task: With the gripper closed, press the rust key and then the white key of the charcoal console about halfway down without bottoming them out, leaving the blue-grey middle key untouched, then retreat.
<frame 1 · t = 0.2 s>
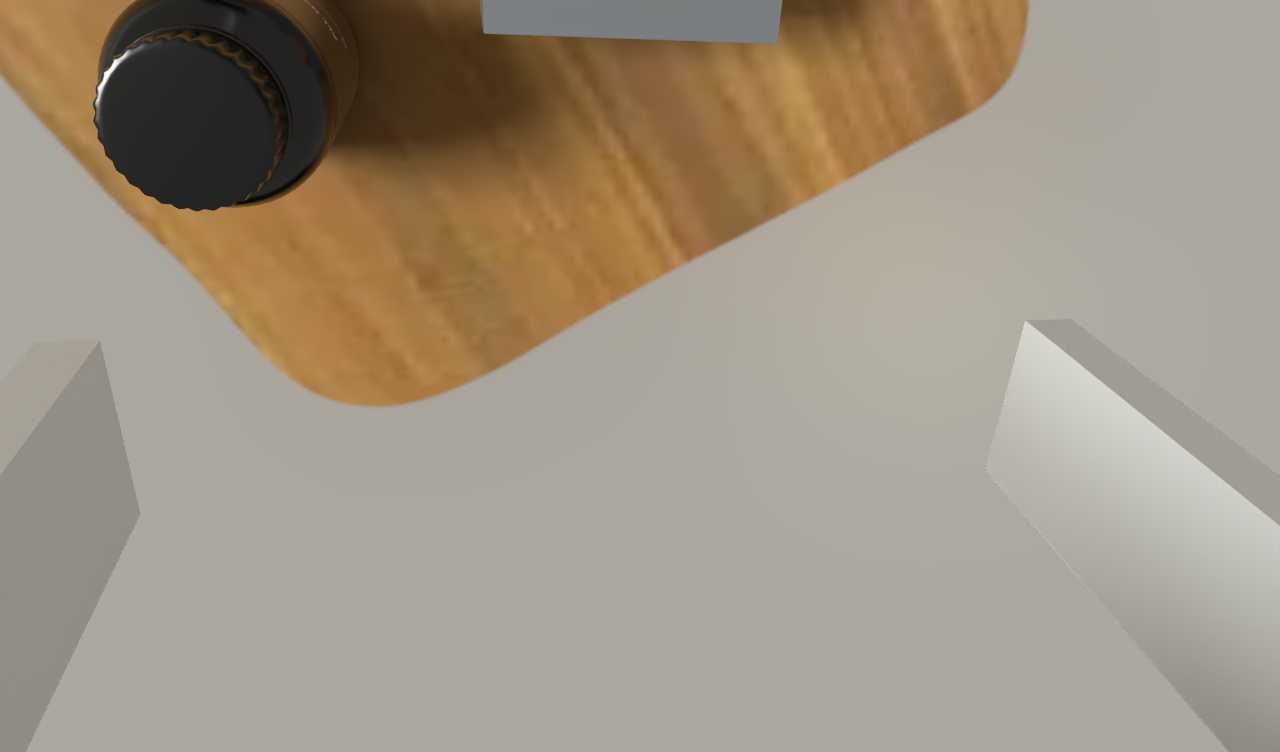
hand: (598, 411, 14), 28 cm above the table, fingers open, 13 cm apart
supplement bottle: (268, 54, 36), on the table
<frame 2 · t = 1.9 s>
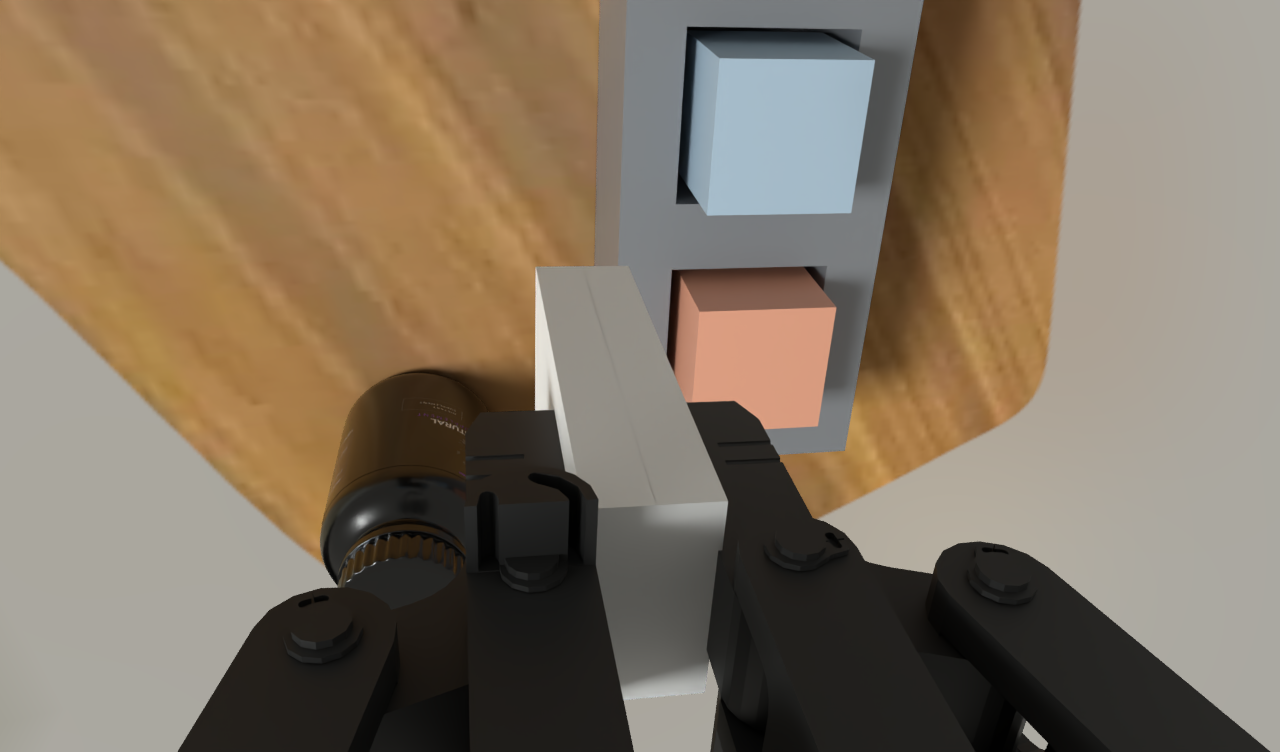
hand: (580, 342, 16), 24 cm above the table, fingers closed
blue key: (767, 120, 33), point 7 cm above the table, slide at 0.0 cm
console: (721, 78, 38), on the table
supplement bottle: (419, 428, 44), on the table
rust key: (743, 340, 37), point 7 cm above the table, slide at 0.0 cm
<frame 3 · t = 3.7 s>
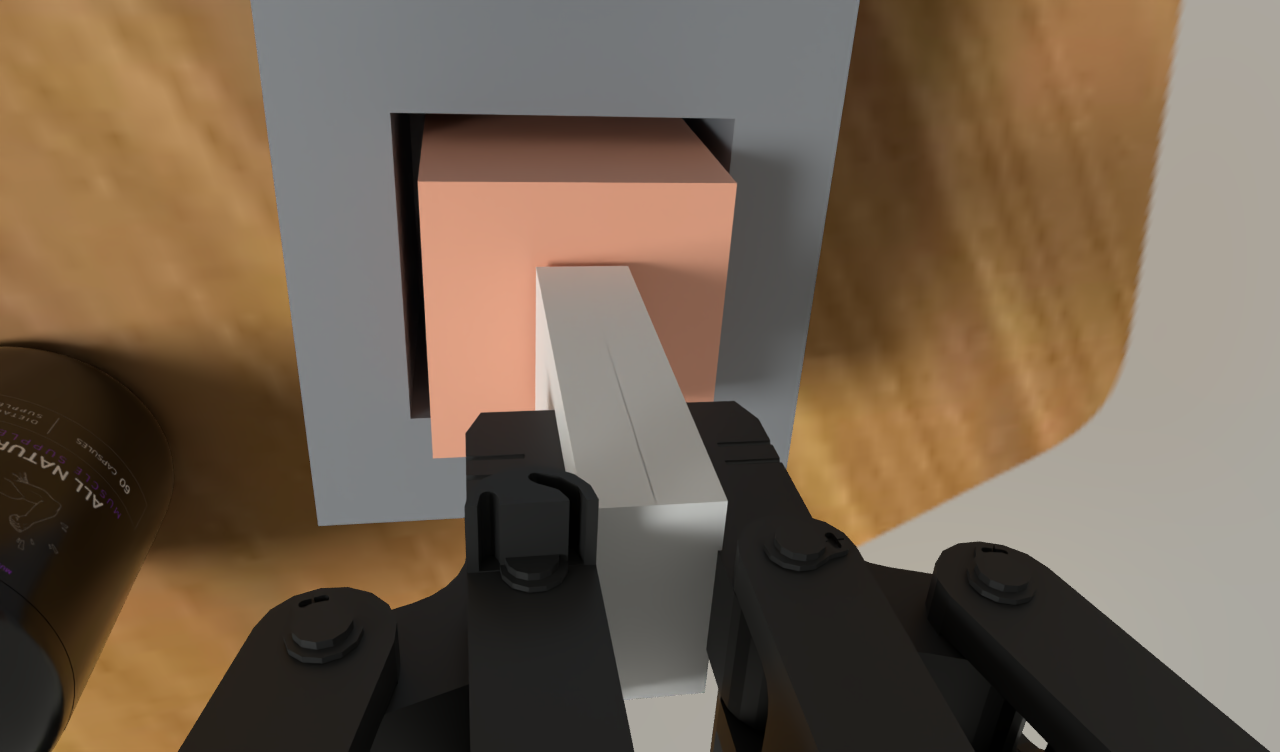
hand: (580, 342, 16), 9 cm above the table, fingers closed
supplement bottle: (40, 447, 25), on the table
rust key: (563, 270, 18), point 6 cm above the table, slide at 0.4 cm, touching gripper
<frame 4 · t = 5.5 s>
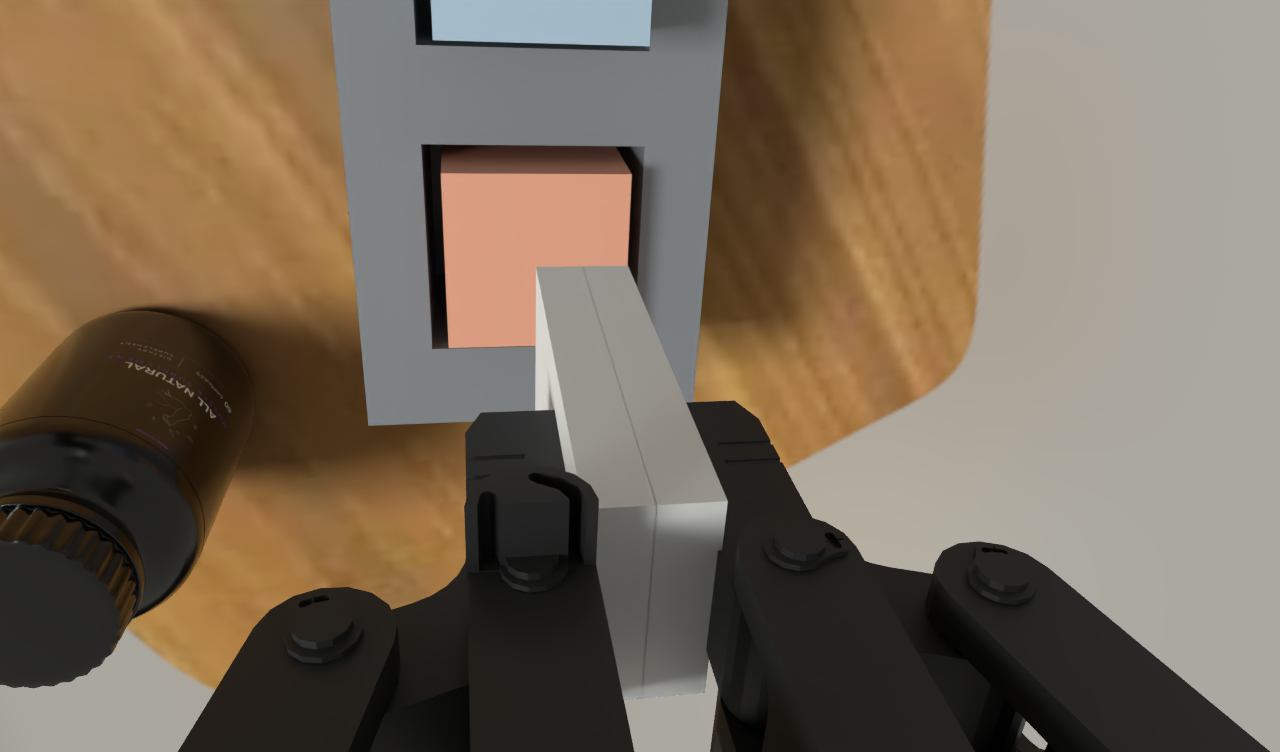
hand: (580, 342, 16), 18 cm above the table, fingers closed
supplement bottle: (157, 388, 34), on the table
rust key: (531, 233, 28), point 5 cm above the table, slide at 1.6 cm
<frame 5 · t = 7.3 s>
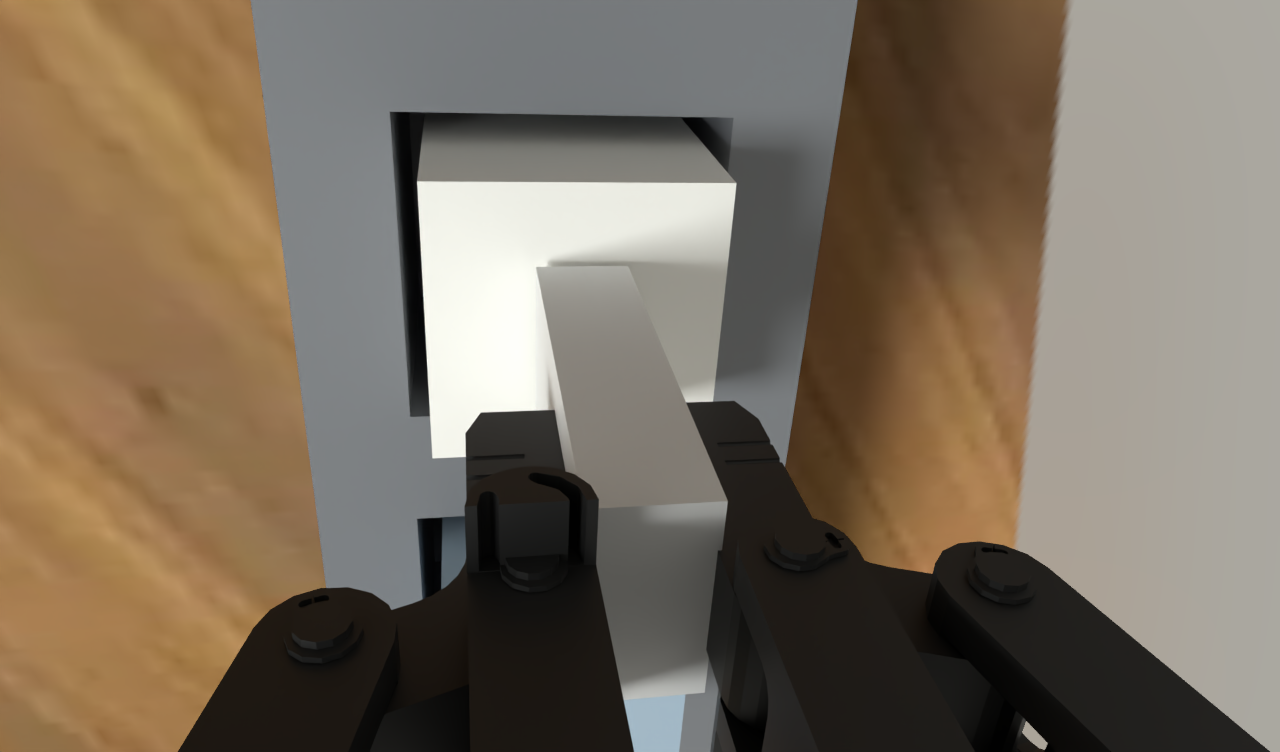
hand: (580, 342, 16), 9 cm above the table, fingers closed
white key: (562, 270, 18), point 6 cm above the table, slide at 0.3 cm, touching gripper
blue key: (557, 618, 22), point 7 cm above the table, slide at 0.0 cm
console: (536, 460, 28), on the table
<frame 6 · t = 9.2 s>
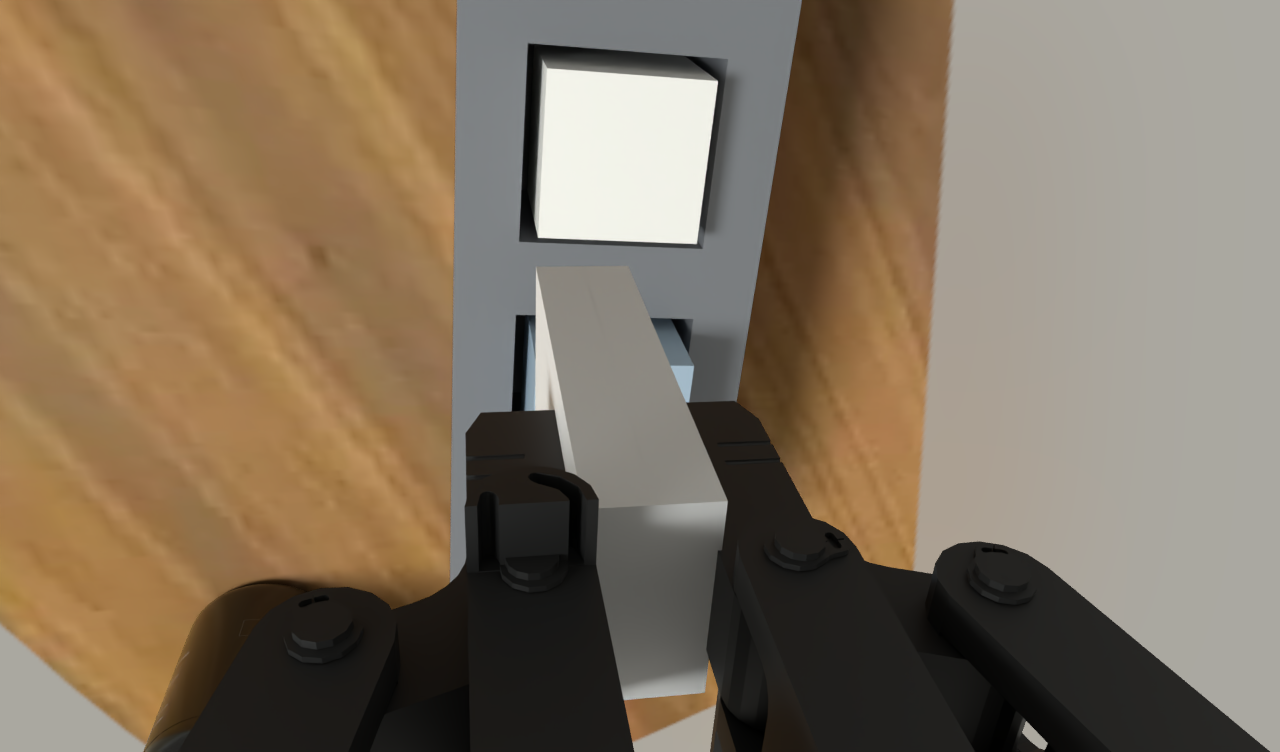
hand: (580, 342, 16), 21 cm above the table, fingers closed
white key: (613, 141, 31), point 5 cm above the table, slide at 1.6 cm
blue key: (599, 397, 33), point 7 cm above the table, slide at 0.0 cm
console: (578, 320, 39), on the table
supplement bottle: (270, 633, 43), on the table
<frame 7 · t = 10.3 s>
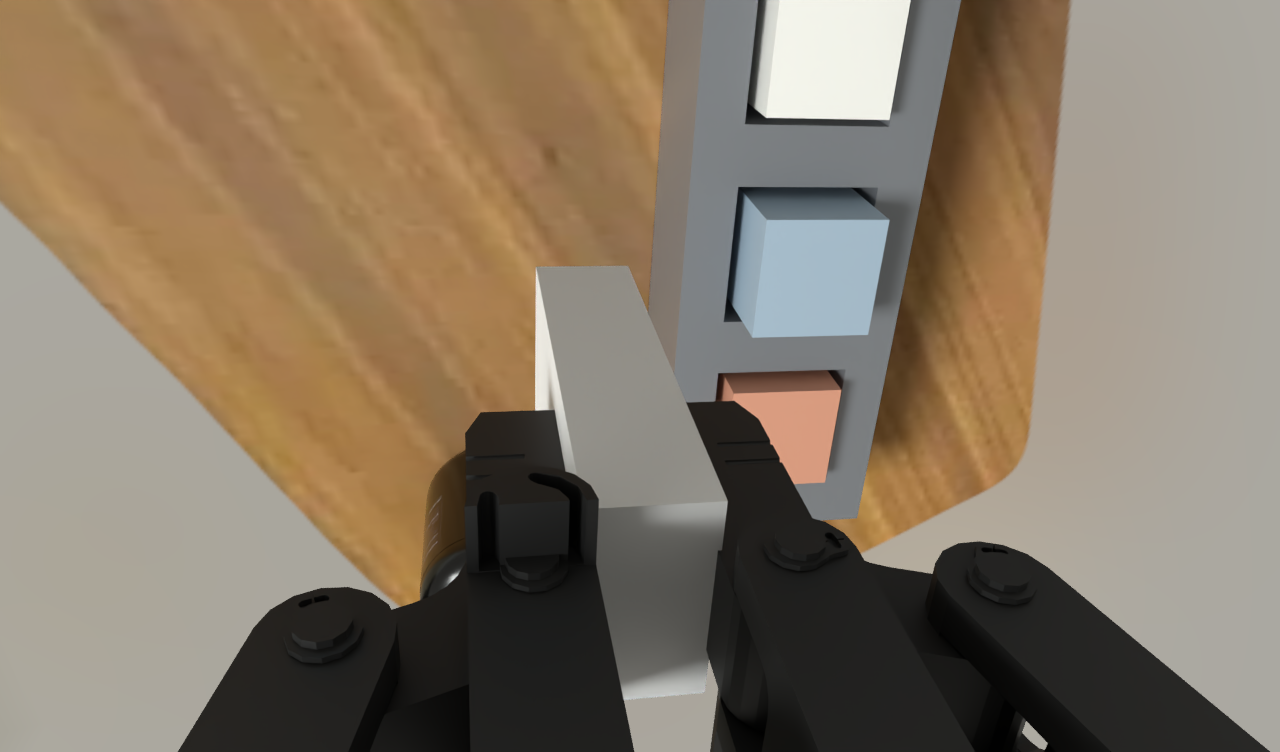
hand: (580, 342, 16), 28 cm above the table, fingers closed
white key: (816, 40, 37), point 5 cm above the table, slide at 1.6 cm
blue key: (800, 257, 40), point 7 cm above the table, slide at 0.0 cm
console: (757, 207, 46), on the table
supplement bottle: (490, 492, 51), on the table
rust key: (765, 412, 45), point 5 cm above the table, slide at 1.6 cm
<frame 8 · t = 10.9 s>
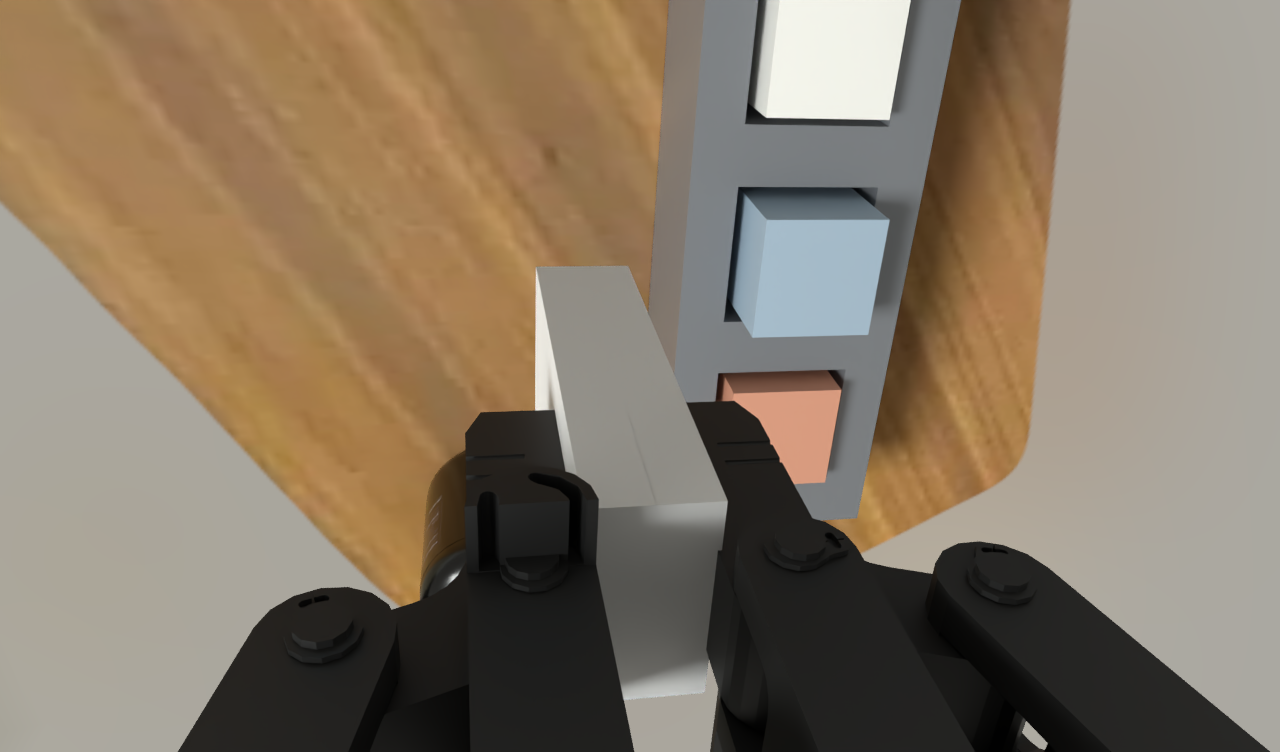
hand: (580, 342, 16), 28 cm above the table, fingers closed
white key: (816, 40, 37), point 5 cm above the table, slide at 1.6 cm
blue key: (800, 257, 40), point 7 cm above the table, slide at 0.0 cm
console: (757, 207, 46), on the table
supplement bottle: (490, 492, 51), on the table
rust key: (765, 412, 45), point 5 cm above the table, slide at 1.6 cm
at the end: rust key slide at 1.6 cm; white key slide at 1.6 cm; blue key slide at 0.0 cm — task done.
